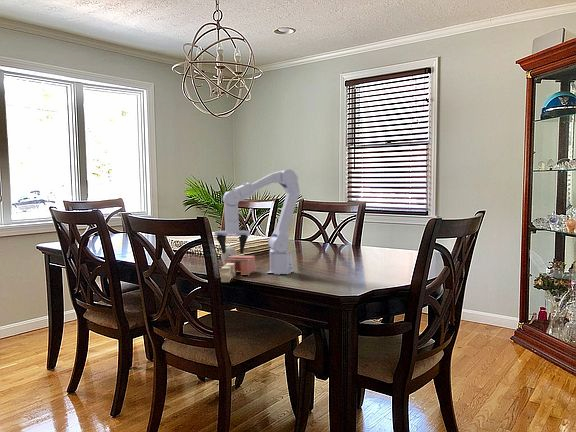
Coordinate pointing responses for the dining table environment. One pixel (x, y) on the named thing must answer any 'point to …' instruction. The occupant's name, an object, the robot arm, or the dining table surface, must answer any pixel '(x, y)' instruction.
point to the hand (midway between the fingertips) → (232, 253)
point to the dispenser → (242, 263)
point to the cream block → (227, 272)
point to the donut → (230, 251)
